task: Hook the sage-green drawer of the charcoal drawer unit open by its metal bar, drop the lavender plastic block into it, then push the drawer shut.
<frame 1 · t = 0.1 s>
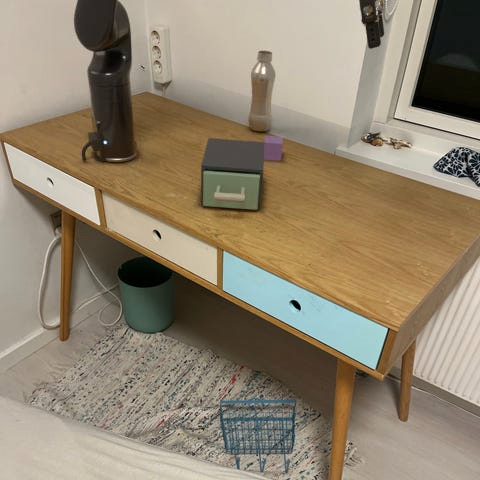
hand: (376, 42, 94), 31 cm above the table, tool tilted 20°, fingers open, 8 cm apart
drawer: (232, 182, 107), point 5 cm above the table, slide at 0.5 cm
plastic bottle: (259, 130, 143), on the table
block: (272, 156, 129), on the table
cabinet: (232, 192, 113), on the table
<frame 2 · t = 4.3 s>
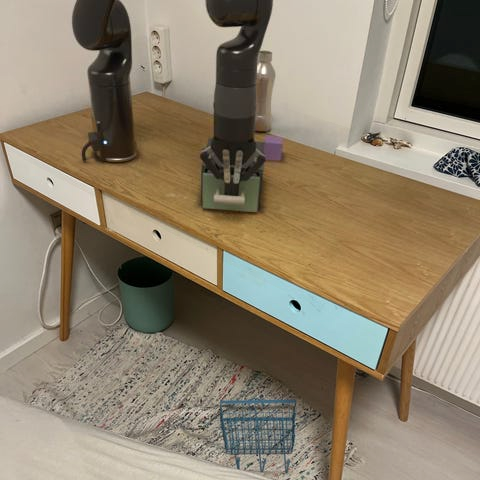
hand: (231, 198, 101), 5 cm above the table, tool pointing down, fingers closed
drawer: (231, 184, 106), point 5 cm above the table, slide at 1.5 cm
everything else where it was.
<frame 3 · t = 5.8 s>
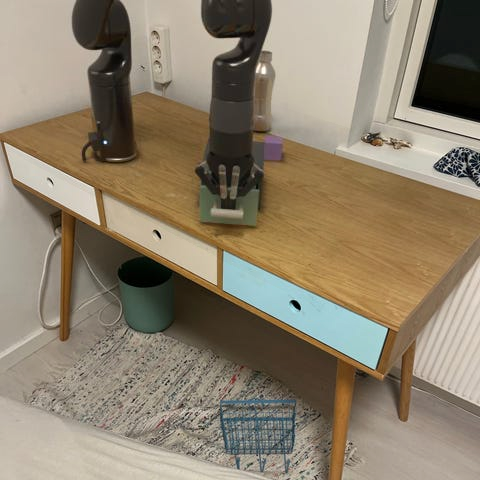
hand: (227, 214, 97), 4 cm above the table, tool pointing down, fingers closed
drawer: (230, 197, 102), point 5 cm above the table, slide at 7.1 cm, touching gripper
everything else where it was.
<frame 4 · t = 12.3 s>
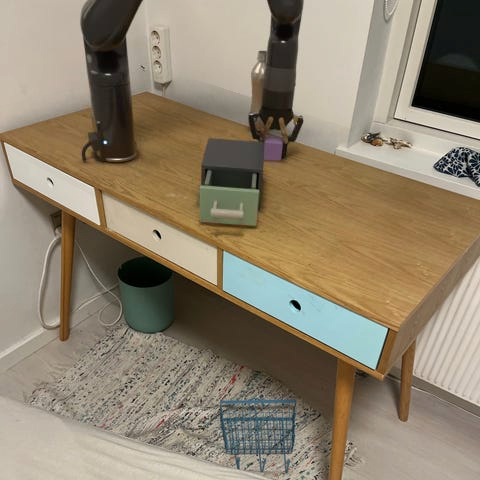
hand: (272, 155, 129), 0 cm above the table, tool pointing down, fingers closed on block, 4 cm apart
drawer: (230, 197, 102), point 5 cm above the table, slide at 7.2 cm
block: (272, 156, 129), on the table, touching gripper
everything else where it was.
when the fingers open (7 cm above the table, at t = 20.0 s): block drops 5 cm, resting on drawer.
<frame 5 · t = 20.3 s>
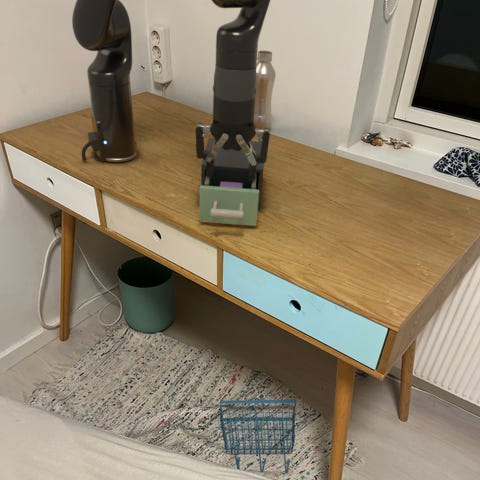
hand: (230, 179, 100), 8 cm above the table, tool pointing down, fingers open, 7 cm apart
drawer: (230, 197, 102), point 5 cm above the table, slide at 7.2 cm, touching block
block: (230, 207, 104), point 2 cm above the table, touching drawer
everything else where it was.
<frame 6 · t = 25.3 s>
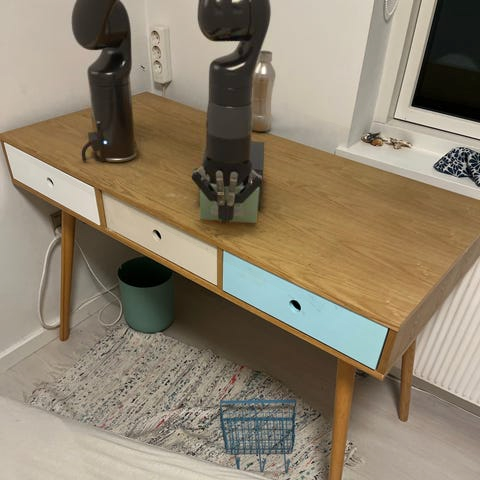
hand: (225, 220, 95), 4 cm above the table, tool pointing down, fingers closed
drawer: (230, 194, 102), point 5 cm above the table, slide at 6.0 cm, touching block, gripper
block: (230, 204, 105), point 2 cm above the table, touching drawer
everything else where it was.
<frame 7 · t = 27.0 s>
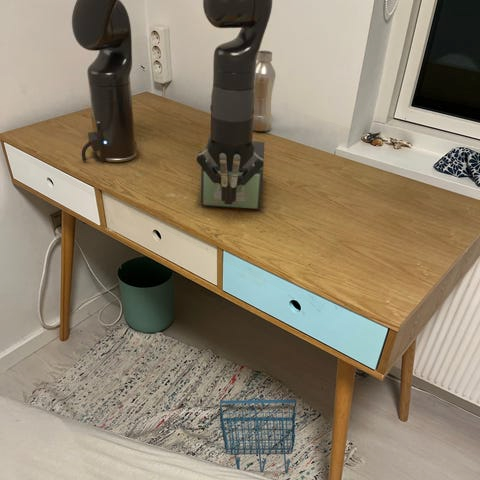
hand: (228, 202, 99), 5 cm above the table, tool pointing down, fingers closed
drawer: (232, 181, 107), point 5 cm above the table, slide at 0.0 cm, touching block
block: (232, 191, 109), point 2 cm above the table, touching drawer
everything else where it was.
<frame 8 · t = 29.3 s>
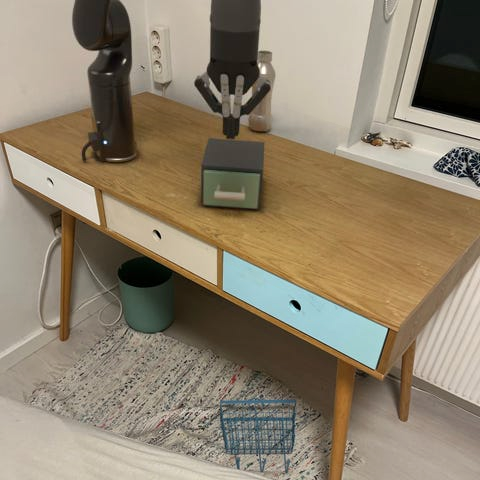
hand: (230, 137, 88), 19 cm above the table, tool pointing down, fingers closed
nothing on the table moved.
at the end: drawer pulled out 7.2 cm at the most during the clip, back to where it started at the end; block inside the target area in the cabinet (3.7 cm from its centre), point 2.0 cm above the cabinet's base; drawer slide at 0.0 cm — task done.
